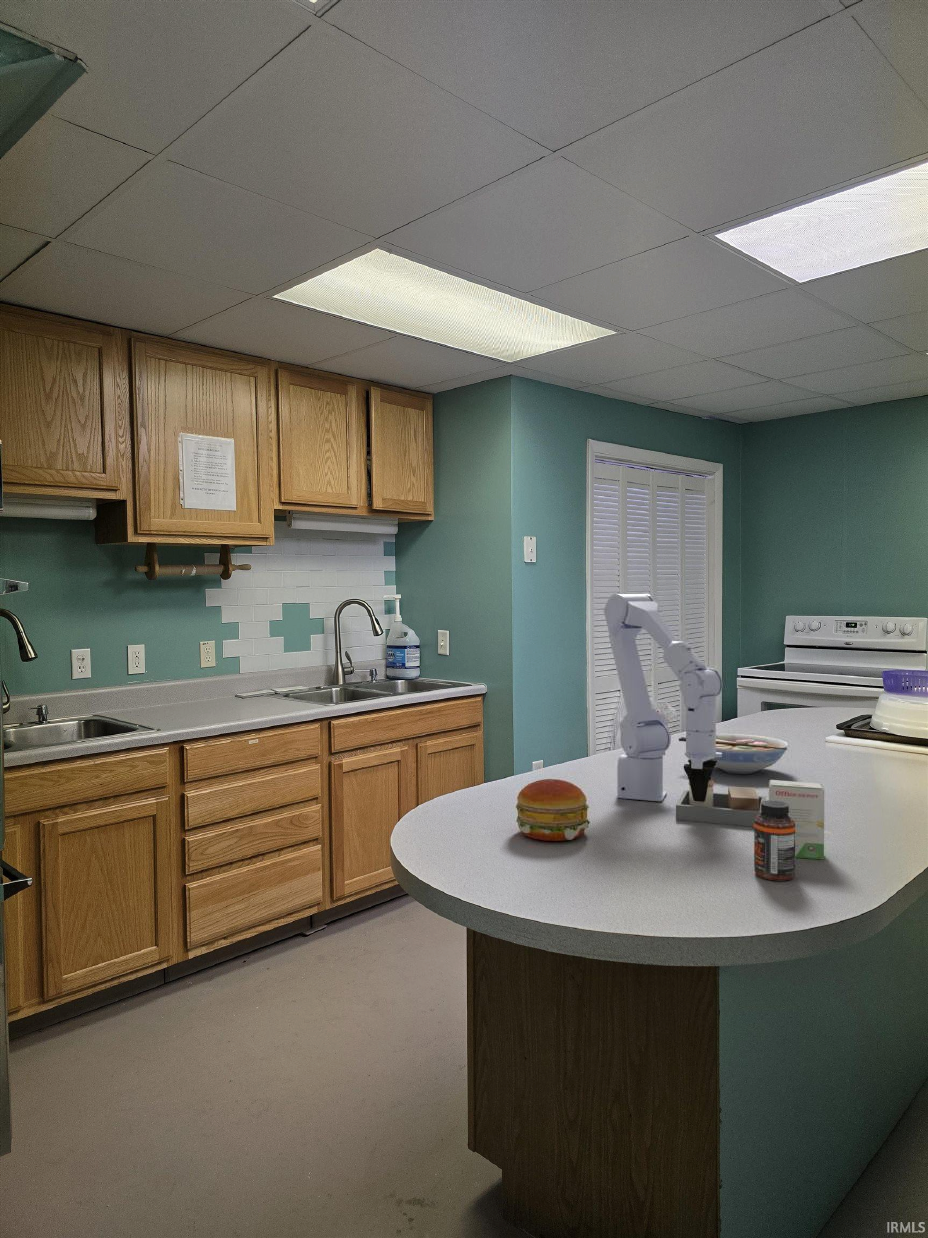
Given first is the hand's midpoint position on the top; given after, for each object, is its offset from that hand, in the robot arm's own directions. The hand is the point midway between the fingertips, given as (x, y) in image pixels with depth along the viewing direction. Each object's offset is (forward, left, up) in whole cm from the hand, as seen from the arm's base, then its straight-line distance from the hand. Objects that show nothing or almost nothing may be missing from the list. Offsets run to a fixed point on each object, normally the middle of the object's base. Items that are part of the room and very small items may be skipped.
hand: (700, 798), depth 162 cm
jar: (0, 0, -2) cm, 2 cm away
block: (+8, 0, -3) cm, 9 cm away
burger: (-23, -25, -3) cm, 34 cm away
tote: (+4, 0, -3) cm, 5 cm away
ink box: (+18, -21, -3) cm, 27 cm away
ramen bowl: (+5, +43, -3) cm, 44 cm away
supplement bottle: (+15, -34, -3) cm, 37 cm away
